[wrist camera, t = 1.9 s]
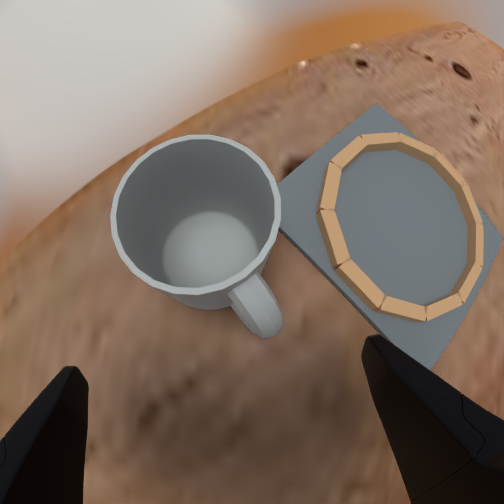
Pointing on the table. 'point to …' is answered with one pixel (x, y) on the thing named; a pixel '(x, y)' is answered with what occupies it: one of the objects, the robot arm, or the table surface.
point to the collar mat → (391, 231)
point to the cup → (202, 226)
